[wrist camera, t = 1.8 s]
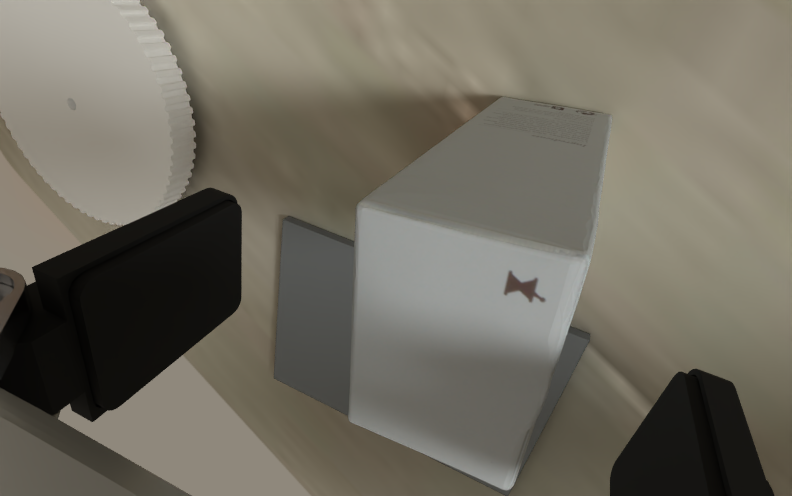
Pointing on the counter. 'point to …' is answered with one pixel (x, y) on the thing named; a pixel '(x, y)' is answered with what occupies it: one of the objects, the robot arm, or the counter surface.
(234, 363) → the counter surface
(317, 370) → the mat
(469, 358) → the skincare box
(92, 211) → the plastic lid
